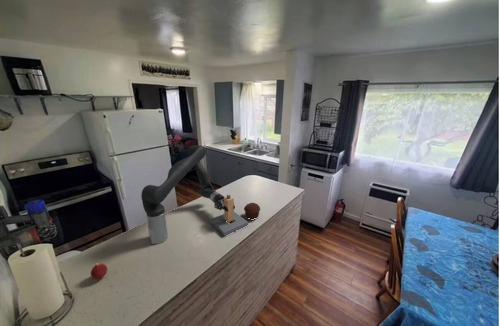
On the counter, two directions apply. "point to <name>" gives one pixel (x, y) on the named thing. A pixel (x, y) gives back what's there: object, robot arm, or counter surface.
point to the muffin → (252, 210)
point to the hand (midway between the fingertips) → (231, 208)
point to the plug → (229, 208)
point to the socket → (229, 228)
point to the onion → (98, 271)
